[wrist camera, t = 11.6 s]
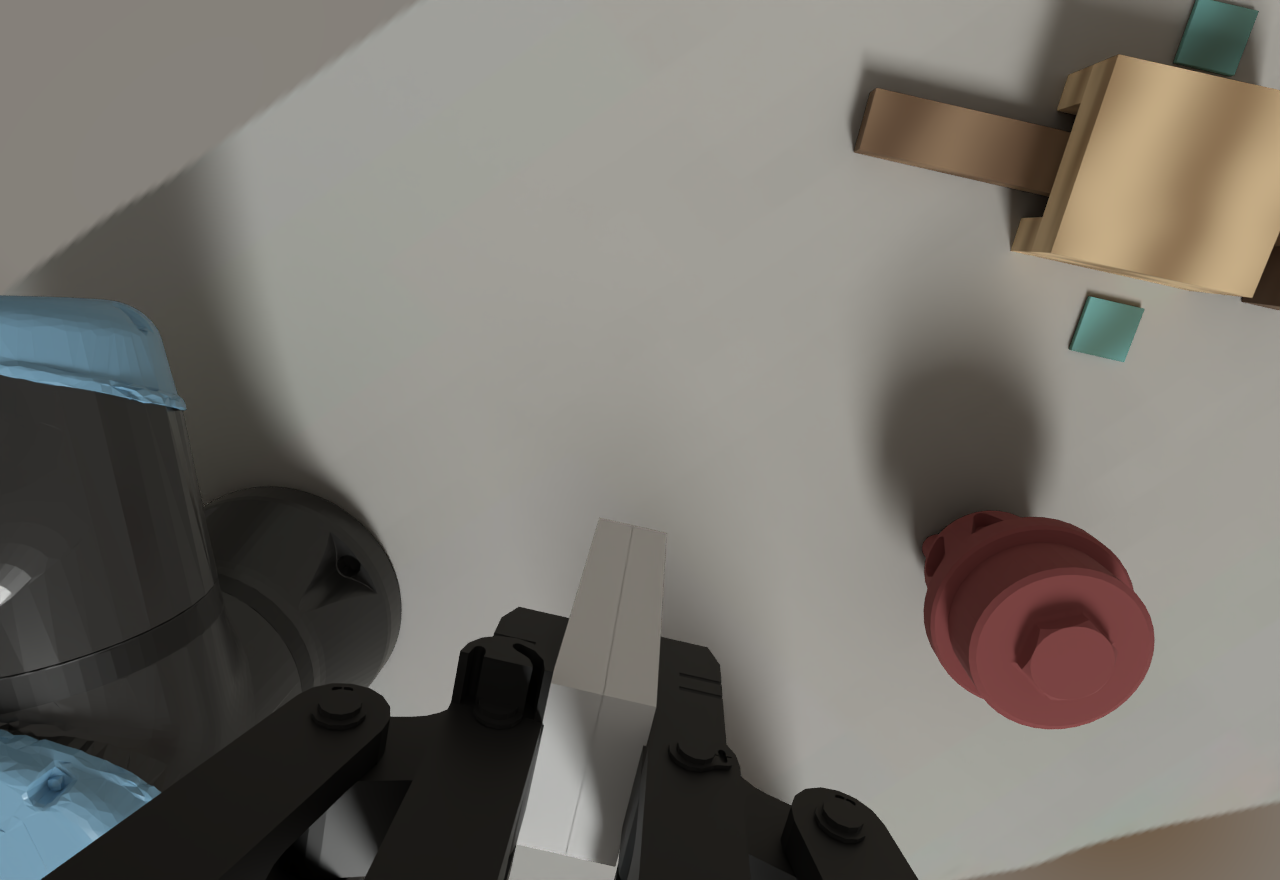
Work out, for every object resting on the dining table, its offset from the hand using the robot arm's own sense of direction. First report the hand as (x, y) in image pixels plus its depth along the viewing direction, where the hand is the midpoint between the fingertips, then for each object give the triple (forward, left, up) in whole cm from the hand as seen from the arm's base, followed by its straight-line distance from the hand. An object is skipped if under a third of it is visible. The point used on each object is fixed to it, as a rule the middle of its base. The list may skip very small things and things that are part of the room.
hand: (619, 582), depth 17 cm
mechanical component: (+21, -7, -30) cm, 37 cm away
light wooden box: (+22, +15, -30) cm, 40 cm away
